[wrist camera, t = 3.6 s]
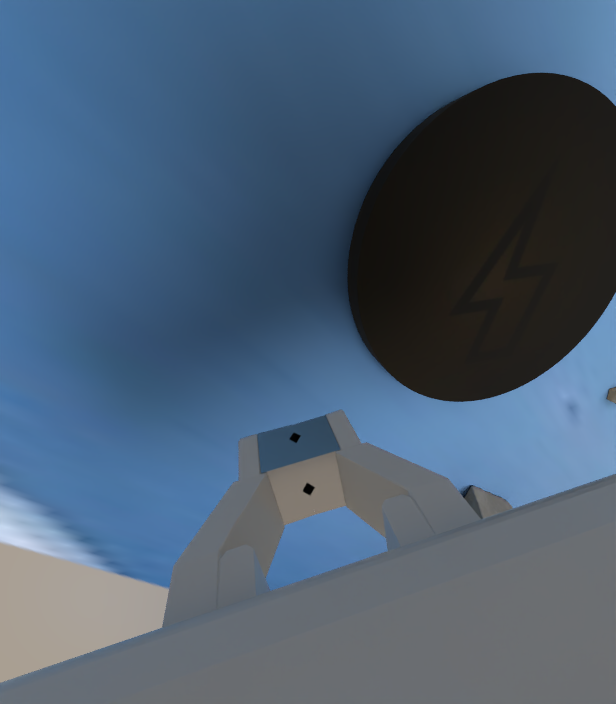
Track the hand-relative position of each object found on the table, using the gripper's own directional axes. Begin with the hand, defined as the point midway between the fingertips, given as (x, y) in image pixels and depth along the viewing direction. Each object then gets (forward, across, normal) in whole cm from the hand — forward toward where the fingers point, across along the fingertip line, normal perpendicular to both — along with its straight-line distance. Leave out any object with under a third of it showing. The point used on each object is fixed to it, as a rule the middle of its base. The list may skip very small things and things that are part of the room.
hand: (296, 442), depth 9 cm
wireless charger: (+11, -14, -1) cm, 18 cm away
